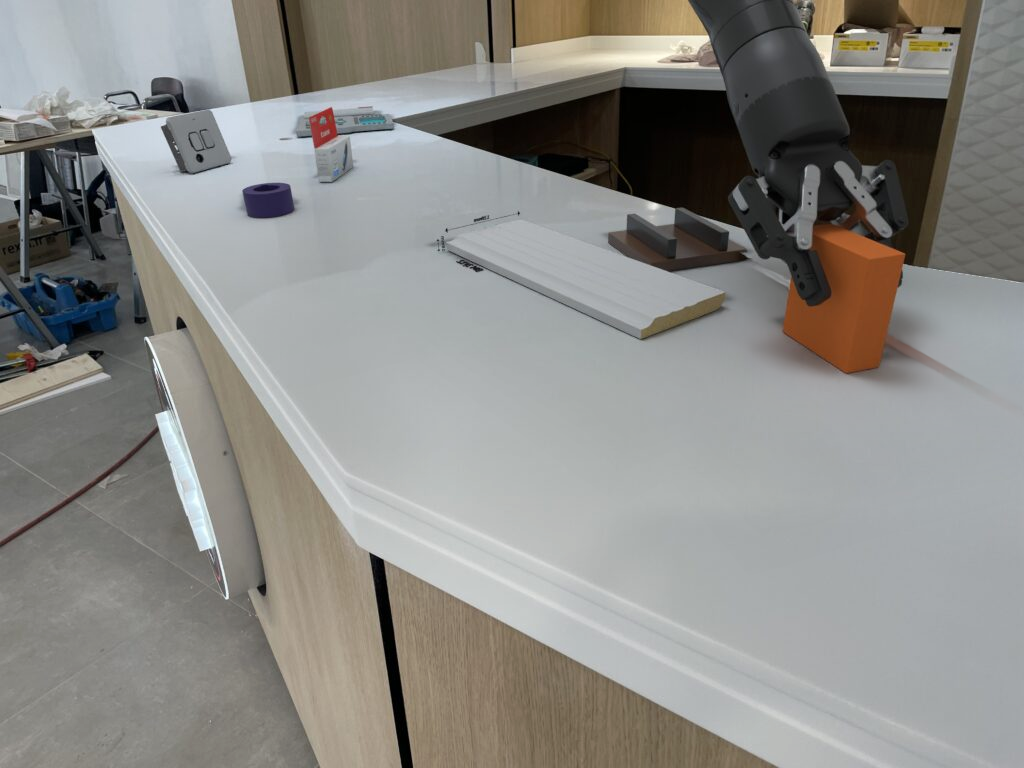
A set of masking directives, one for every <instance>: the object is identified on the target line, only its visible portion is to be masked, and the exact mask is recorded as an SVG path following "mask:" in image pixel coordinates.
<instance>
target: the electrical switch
mask: <svg viewBox="0 0 1024 768" xmlns="http://www.w3.org/2000/svg"><path fill="white" fill-rule="evenodd" d="M160 130H161V131H162V134H163V136H164V138H165V140H166V143H167V145H168V147H169V149H170V152H171V154H172V156H173V158H174V160H175V163H176V166H177V167H178V170H179V171H180V173H182V172H183V173H184V172H188V173H189V174H197V173H200V172H203V171H206V170H210V169H214V168H217V167H221V166H224V165H228V164H229V163H231V162H232V158H233V157H232V156H231V153H230V151H229V148H228V146H227V144H226V141H225V139H224V137H223V134H222V132H221V130H220V127H219V124H218V122H217V119H216V117H215V115H214V113H213V111H212V110H211V109H203V110H198V111H193V112H189V113H182V114H178V115H174V116H169V117H166V118H165V124H163V125H160Z"/></svg>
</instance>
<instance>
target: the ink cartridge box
mask: <svg viewBox="0 0 1024 768" xmlns="http://www.w3.org/2000/svg"><path fill="white" fill-rule="evenodd" d="M333 110H334V109H333V106H330V107H328V108H326V109H323V110H320V111H321V112H319V113H317V114H315V115H313V116H310V117H308V119H309V124H310V129H311V134H312V136H311V139H312V144H313V149H314V158H315V165H316V173H317V180H318V182H319V183H332V182H334V181H335V180H337V179H338V178H340V177H341V176H343V175H344V174H346V173H347V172H348V171H350V170H351V169H352V168H354V160H353V159H354V158H353V150H352V143H351V136H350V135H338V134H337V130H336V124H335V119H334V114H333ZM321 117H324V118H325V120H326V123H325V124H323V125H321V126H320V123H319V122H320V119H321Z"/></svg>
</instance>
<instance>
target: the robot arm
mask: <svg viewBox="0 0 1024 768" xmlns="http://www.w3.org/2000/svg"><path fill="white" fill-rule="evenodd" d="M687 1H688V3H689V5H690V7H691V8H692V9H693V11H694V13H695V15H696V16H697V18H698V20H699V21H700V22H701V24H702V26H703V28H704V30H705V31H706V33H707V36H708V39H709V42H710V45H711V49H712V51H713V54H714V57H715V60H716V63H717V65H718V68H719V71H720V74H721V77H722V80H723V83H724V88H725V92H726V97H727V102H728V105H729V108H730V111H731V114H732V117H733V119H734V123H735V124H736V125H735V126H736V127H737V131H738V134H739V136H740V139H741V142H742V144H743V147H744V150H745V153H746V155H747V158H748V161H749V164H750V167H751V170H752V171H753V173H754V174H755V175H756V176H757V177H758V178H755V177H754V176H752V175H745V176H744V177H743V178H742V179H741V180H740V182H739V183H737V185H736V186H735V187H734V189H733V190H732V191H731V192H730V193H729V195H728V196H727V201H728V203H729V205H730V207H731V208H732V210H733V212H734V214H735V216H736V218H737V219H738V221H739V223H740V225H741V227H742V229H743V230H744V232H745V234H746V236H747V238H748V240H749V242H750V243H751V245H752V248H753V249H754V251H755V252H756V255H757V256H758V258H760V259H762V260H769V259H770V258H775V259H780V260H781V262H783V263H784V264H785V265H787V269H788V271H789V273H790V277H791V276H792V279H793V282H794V284H795V287H796V290H797V293H798V295H799V296H800V298H801V299H802V300H805V301H806V304H807V305H808V306H809V307H811V306H817V305H820V304H822V303H823V302H825V301H826V300H827V299H829V298H830V297H831V293H832V292H831V288H830V285H829V283H828V280H827V277H826V275H825V272H824V269H823V267H822V264H821V261H820V259H819V256H818V253H817V251H816V250H811V251H810V248H811V246H812V234H813V226H814V225H815V222H816V221H820V222H830V223H832V224H834V225H836V226H839V227H841V228H844V229H846V230H849V231H851V232H853V233H856V234H858V235H861V236H863V237H866V238H868V239H871V240H873V241H875V242H878V243H880V244H883V245H885V246H888V247H890V248H893V249H894V247H893V244H892V237H895V235H896V234H898V233H900V232H901V231H903V230H904V229H906V228H907V227H908V226H909V225H910V221H909V216H908V213H907V208H906V203H905V200H904V195H903V191H902V187H901V186H902V185H901V183H900V179H899V174H898V170H897V166H896V164H895V163H894V162H893V161H892V160H890V159H884V160H883V161H882V162H880V163H879V165H865V164H864V165H863V164H862V163H861V161H860V160H859V159H858V158H857V157H856V156H855V155H854V153H852V151H851V150H850V133H851V129H850V126H849V122H848V120H847V118H846V115H845V113H844V110H843V108H842V105H841V103H840V100H839V98H838V95H837V93H836V91H835V88H834V85H833V83H832V81H831V79H830V77H829V73H828V72H827V69H826V66H825V64H824V62H823V61H824V60H823V59H822V57H821V55H820V53H819V51H818V50H817V48H816V46H815V45H814V44H813V41H811V39H810V37H809V34H808V32H807V29H806V26H805V24H804V22H803V20H802V17H801V15H800V12H799V10H798V7H797V4H796V3H795V0H687ZM769 201H770V202H771V203H772V204H773V205H775V206H776V207H777V208H778V216H777V214H776V212H775V210H774V209H773V207H772V205H771V203H770V202H769ZM853 205H854V206H855V210H854V211H853V213H851V214H847V213H846V212H847V211H848V210H849V209H850V208H852V206H853ZM861 222H863V223H864V224H865V226H866V227H867V228H868V229H869V230H870V231H869V232H868V231H867V229H866V228H865V227H864V226H863V225H862V224H861ZM903 272H904V271H903V270H902V271H901V275H900V280H899V284H898V288H900V287H901V286H902V284H903V278H904V273H903Z"/></svg>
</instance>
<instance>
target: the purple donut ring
mask: <svg viewBox="0 0 1024 768" xmlns="http://www.w3.org/2000/svg"><path fill="white" fill-rule="evenodd" d="M291 187H292V186H291V185H290V184H289V183H286V182H265V183H264V182H263V183H258V184H254V185H250V186H249V185H248V186H247V187H244V188H243V189H242V190H241V192H242V195H243V201H244V206H245V210H246V214H247V216H248V217H250V218H255V219H268V218H276V217H281V216H285V215H288V214H291V213H292V212H294V211H295V203H294V198H293V193H292V188H291Z"/></svg>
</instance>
